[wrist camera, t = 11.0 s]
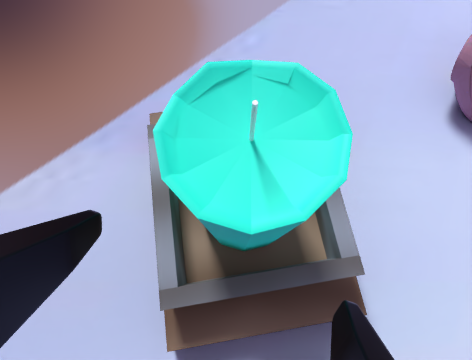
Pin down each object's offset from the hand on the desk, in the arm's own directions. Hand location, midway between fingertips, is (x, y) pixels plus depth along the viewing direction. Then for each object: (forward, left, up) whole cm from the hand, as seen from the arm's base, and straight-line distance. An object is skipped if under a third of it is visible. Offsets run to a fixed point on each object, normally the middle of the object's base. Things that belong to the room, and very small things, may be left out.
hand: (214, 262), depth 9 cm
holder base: (+4, -2, -9) cm, 10 cm away
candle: (+3, -2, -8) cm, 9 cm away
